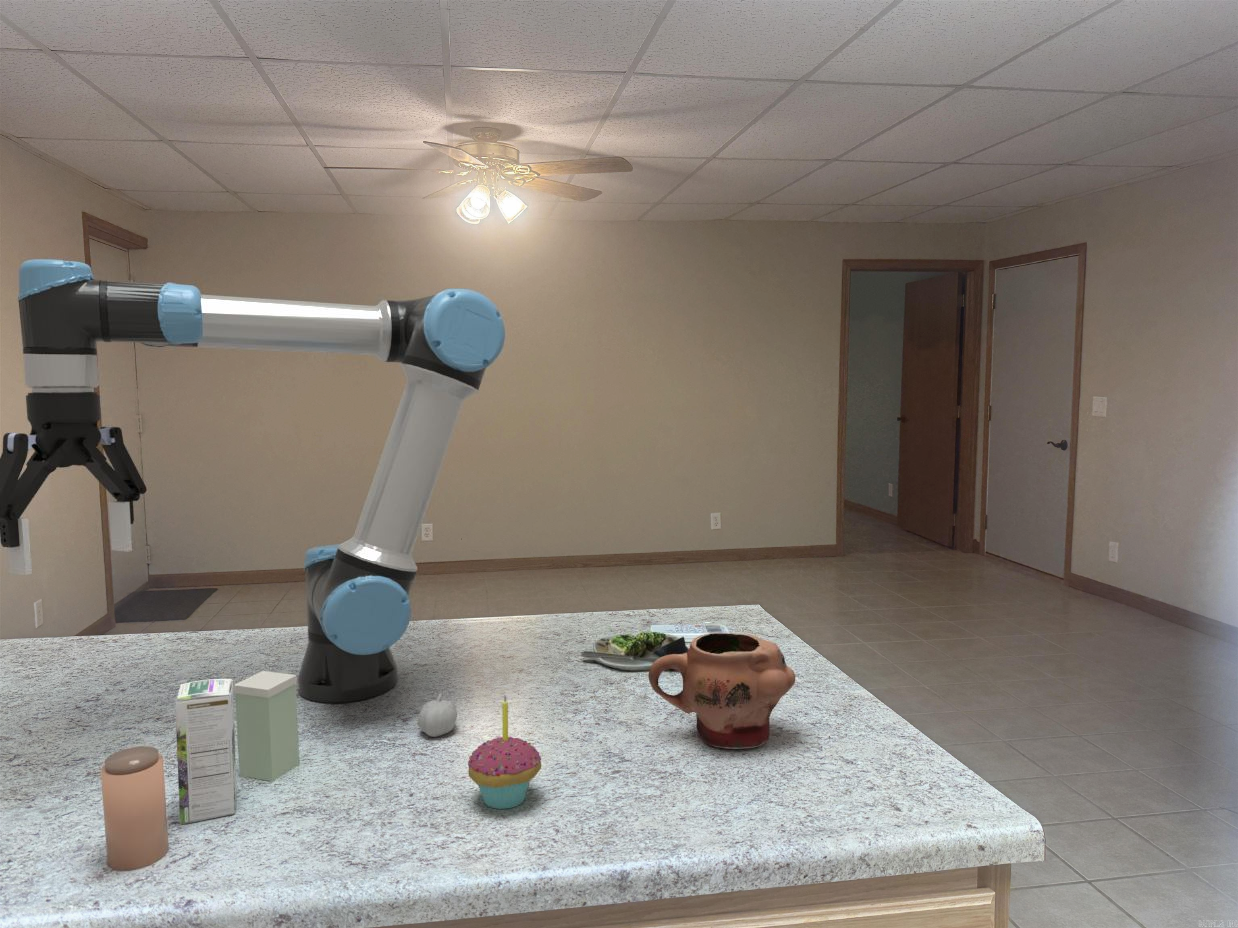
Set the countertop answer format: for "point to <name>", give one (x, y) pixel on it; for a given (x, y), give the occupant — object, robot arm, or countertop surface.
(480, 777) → the cupcake
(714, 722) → the brown clay mug
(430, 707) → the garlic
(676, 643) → the salad plate
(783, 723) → the countertop surface
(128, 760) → the canister
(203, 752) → the syrup box
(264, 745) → the tea tin
